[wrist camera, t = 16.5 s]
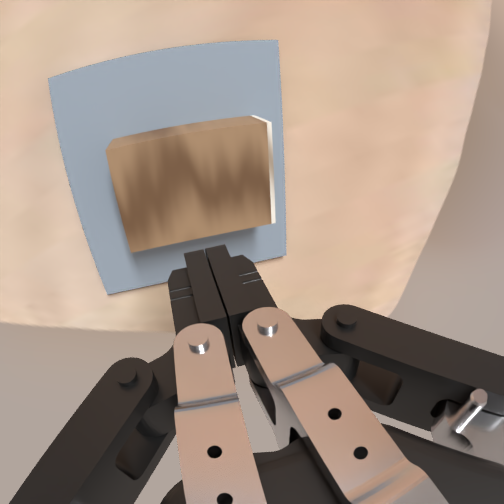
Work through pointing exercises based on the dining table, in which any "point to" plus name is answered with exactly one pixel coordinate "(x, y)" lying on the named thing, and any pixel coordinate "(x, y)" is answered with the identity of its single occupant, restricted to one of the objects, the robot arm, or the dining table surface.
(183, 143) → the slab
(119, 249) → the mat
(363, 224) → the dining table surface
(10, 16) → the dining table surface
